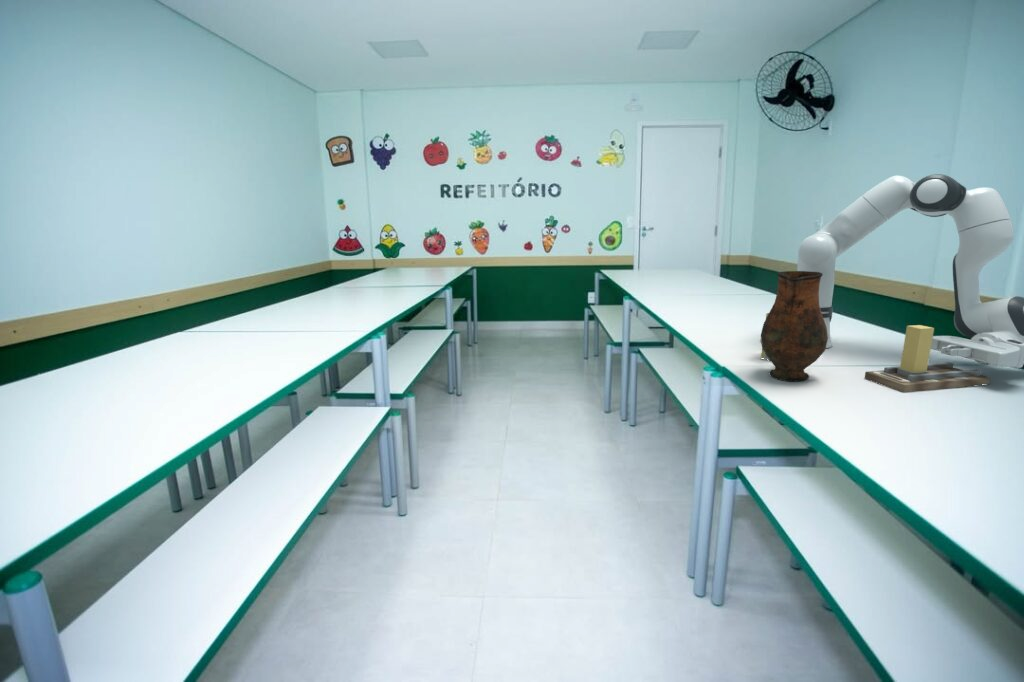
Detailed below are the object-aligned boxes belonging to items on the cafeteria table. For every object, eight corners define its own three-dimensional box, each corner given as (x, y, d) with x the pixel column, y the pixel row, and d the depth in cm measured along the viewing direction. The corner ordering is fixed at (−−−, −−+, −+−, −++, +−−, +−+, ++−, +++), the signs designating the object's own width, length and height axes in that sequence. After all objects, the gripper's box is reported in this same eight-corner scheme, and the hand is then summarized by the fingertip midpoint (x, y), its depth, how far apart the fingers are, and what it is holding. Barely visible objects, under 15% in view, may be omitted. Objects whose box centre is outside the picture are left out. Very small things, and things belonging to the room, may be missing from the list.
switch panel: (944, 371, 143) (946, 360, 142) (988, 384, 132) (991, 372, 131) (864, 378, 140) (866, 366, 139) (903, 392, 128) (905, 379, 127)
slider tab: (912, 372, 137) (920, 324, 134) (927, 377, 133) (936, 328, 130) (896, 373, 136) (904, 325, 133) (911, 378, 132) (920, 329, 129)
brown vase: (750, 378, 142) (759, 274, 135) (768, 361, 158) (777, 267, 151) (816, 389, 132) (830, 276, 125) (829, 370, 148) (842, 269, 141)
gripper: (953, 329, 146) (912, 332, 144) (1034, 345, 126) (988, 349, 124) (949, 350, 147) (909, 353, 145) (1029, 369, 127) (983, 373, 126)
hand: (946, 351), depth 134 cm, fingers closed
